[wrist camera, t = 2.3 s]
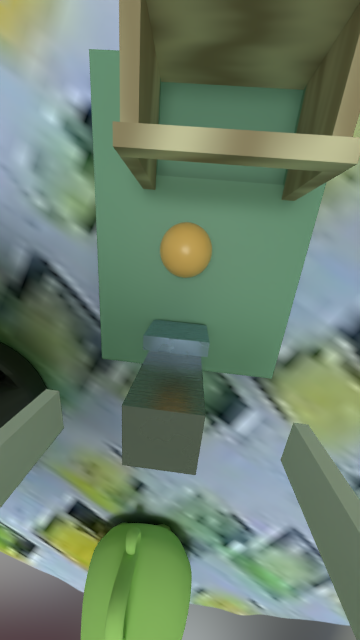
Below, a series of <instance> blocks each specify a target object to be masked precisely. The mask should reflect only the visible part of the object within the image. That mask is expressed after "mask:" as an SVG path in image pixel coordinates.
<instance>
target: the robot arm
mask: <svg viewBox="0 0 360 640" xmlns="http://www.w3.org/2000/svg"><path fill="white" fill-rule="evenodd" d="M63 429H64V426H63V418H62V410H61V402H60V394H59V391H56V390H49V389H46V387H45V385H44V383H43V381H42V379H41V377H40V376H39V374H38V373H37V371H36V370H35V369H34V368H33V366H32V365H31V364H30V363H29V362H28V361H27V360H26V359H25V358H24V357H22V356H21V355H20V354H19V353H17V352H16V351H14V350H13V349H11V348H10V347H8V346H6V345H4V344H2V343H0V508H1V506H2V505H3V504H4V503H5V501H6V500H7V499H8V498H9V496H10V495H11V494H12V493H13V491H14V490H15V489H16V488H17V486H18V485H19V484H20V483H21V481H22V480H23V479H24V478H25V476H26V475H27V474H28V472H29V471H30V470H31V469H32V467H33V466H34V465H35V464H36V462H37V461H38V460H39V459H40V457H41V456H42V455H43V454H44V452H45V451H46V450H47V449H48V447H49V446H50V445H51V444H52V442H53V441H54V440H55V439H56V437H57V436H58V435H59V434H60V432H61V431H62V430H63ZM281 462H282V464H283V467H284V469H285V471H286V474H287V476H288V479H289V481H290V483H291V486H292V488H293V490H294V493H295V495H296V498H297V500H298V502H299V505H300V507H301V509H302V512H303V514H304V517H305V519H306V521H307V524H308V526H309V528H310V531H311V533H312V536H313V538H314V540H315V543H316V545H317V547H318V550H319V552H320V554H321V557H322V559H323V562H324V564H325V566H326V569H327V571H328V573H329V576H330V578H331V581H332V583H333V585H334V588H335V590H336V592H337V595H338V597H339V600H340V602H341V604H342V607H343V609H344V611H345V614H346V616H347V619H348V621H349V623H350V626H351V628H352V630H353V633H354V635H355V637H356V640H360V500H359V499H358V497H357V496H356V494H355V493H354V491H353V490H352V488H351V487H350V485H349V484H348V483H347V481H346V480H345V478H344V477H343V475H342V474H341V472H340V471H339V469H338V468H337V466H336V465H335V463H334V462H333V460H332V459H331V458H330V456H329V455H328V453H327V452H326V450H325V449H324V447H323V446H322V444H321V443H320V441H319V440H318V438H317V437H316V435H315V434H314V433H313V431H312V430H311V428H310V427H309V425H306V424H299V423H293V426H292V429H291V432H290V435H289V437H288V440H287V443H286V446H285V449H284V452H283V455H282V458H281Z"/></svg>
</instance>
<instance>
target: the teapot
mask: <svg viewBox="0 0 360 640" xmlns="http://www.w3.org/2000/svg"><path fill="white" fill-rule="evenodd" d="M190 594H191V567H190V563H189V560H188V557H187V555H186V552H185V550H184V548H183V546H182V544H181V542H180V540H179V539H178V537H177V536H176V535H175V534H174V533H172V532H171V529H170V527H169V526H167V525H164V524H159V525H151V524H142V523H125V522H123V523H120V524H119V525H117V526H115V527H113V528H112V529H111V530H110V531H109V532H108V533H107V534H106V535H105V536H104V537H103V538H102V539H101V540H100V542H99V543H98V545H97V546H96V548H95V550H94V553H93V556H92V559H91V562H90V566H89V570H88V575H87V579H86V584H85V590H84V598H83V607H82V623H81V640H181V639H182V636H183V632H184V629H185V624H186V619H187V615H188V609H189V602H190Z"/></svg>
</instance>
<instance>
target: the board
mask: <svg viewBox="0 0 360 640" xmlns="http://www.w3.org/2000/svg"><path fill="white" fill-rule="evenodd" d="M89 56H90V80H91V104H92V128H93V153H94V177H95V201H96V225H97V249H98V273H99V297H100V321H101V345H102V359H109V360H118V361H126V362H135V363H143V362H144V360H145V358H146V356H147V354H148V352H149V350H143V335H144V334H145V332H146V331H147V329H148V328H149V326H150V325H151V323H152V322H153V320H163V321H172V322H181V323H190V324H200V325H206V326H207V331H208V337H209V342H210V344H209V351H208V357H202V356H201V364H202V370H203V371H212V372H220V373H229V374H237V375H246V376H254V377H263V378H271V379H272V376H273V372H274V369H275V365H276V361H277V358H278V354H279V351H280V347H281V343H282V340H283V336H284V333H285V329H286V325H287V322H288V318H289V315H290V311H291V307H292V304H293V300H294V297H295V293H296V290H297V286H298V282H299V279H300V275H301V272H302V268H303V264H304V261H305V257H306V254H307V250H308V246H309V243H310V239H311V236H312V232H313V228H314V225H315V221H316V218H317V214H318V210H319V207H320V203H321V200H322V196H323V192H324V189H325V185H326V183H324V184H322V185H321V186H319V187H317V188H316V189H314V190H312V191H310V192H309V193H307V194H305V195H304V196H302V197H300V198H299V199H297V200H295V201H289V200H282V195H283V191H284V186H285V182H286V177H287V173H288V169H281V168H268V167H254V166H240V165H227V164H213V163H199V162H186V161H172V160H158V159H157V164H156V188H155V190H151V189H143V188H142V187H141V185H140V184H139V182H138V181H137V180H136V178H135V177H134V175H133V174H132V173H131V171H130V170H129V168H128V167H127V166H126V164H125V163H124V161H123V160H122V159H121V157H120V156H119V154H118V153H117V152H116V150H115V149H114V147H113V122H112V121H115V122H120V51H115V50H95V49H89ZM306 87H307V85H306ZM306 87H305V89H304V90H297V89H280V88H262V87H244V86H227V85H209V84H191V83H174V82H161V78H160V94H159V117H158V124H160V125H175V126H191V127H206V128H221V129H236V130H251V131H267V132H282V133H296V132H297V127H298V123H299V118H300V114H301V109H302V105H303V100H304V96H305V91H306ZM183 222H190V223H194V224H197V225H199V226H200V227H202V228H203V229H204V230H205V231H206V232H207V234H208V235H209V238H210V240H211V243H212V256H211V259H210V262H209V264H208V266H207V267H206V268H205V270H203V271H202V272H201V273H200V274H198V275H196V276H194V277H190V278H182V277H178V276H175V275H173V274H172V273H170V272H169V271H168V270H167V269H166V267H165V266H164V264H163V262H162V260H161V256H160V245H161V241H162V238H163V236H164V235H165V233H166V232H167V231H168V230H169V229H170V228H171V227H172V226H174V225H176V224H179V223H183Z"/></svg>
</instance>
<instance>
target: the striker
mask: <svg viewBox="0 0 360 640" xmlns="http://www.w3.org/2000/svg"><path fill="white" fill-rule="evenodd" d="M209 344H210V342H209V337H208V331H207V326H206V325H200V324H190V323H181V322H172V321H163V320H153V322H152V323H151V325H150V326H149V328H148V329H147V331H146V332H145V334H144V335H143V350H149V352H148V354H147V356H146V358H145V360H144V362H143V364H142V366H141V368H140V370H139V372H138V374H137V376H136V378H135V380H134V382H133V384H132V386H131V388H130V390H129V392H128V394H127V396H126V398H125V400H124V402H123V404H122V465H127V466H134V467H141V468H149V469H156V470H163V471H170V472H177V473H184V474H192V475H196V469H197V463H198V457H199V451H200V445H201V439H202V433H203V427H204V421H205V405H204V391H203V377H202V364H201V356H202V357H208V351H209Z"/></svg>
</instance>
